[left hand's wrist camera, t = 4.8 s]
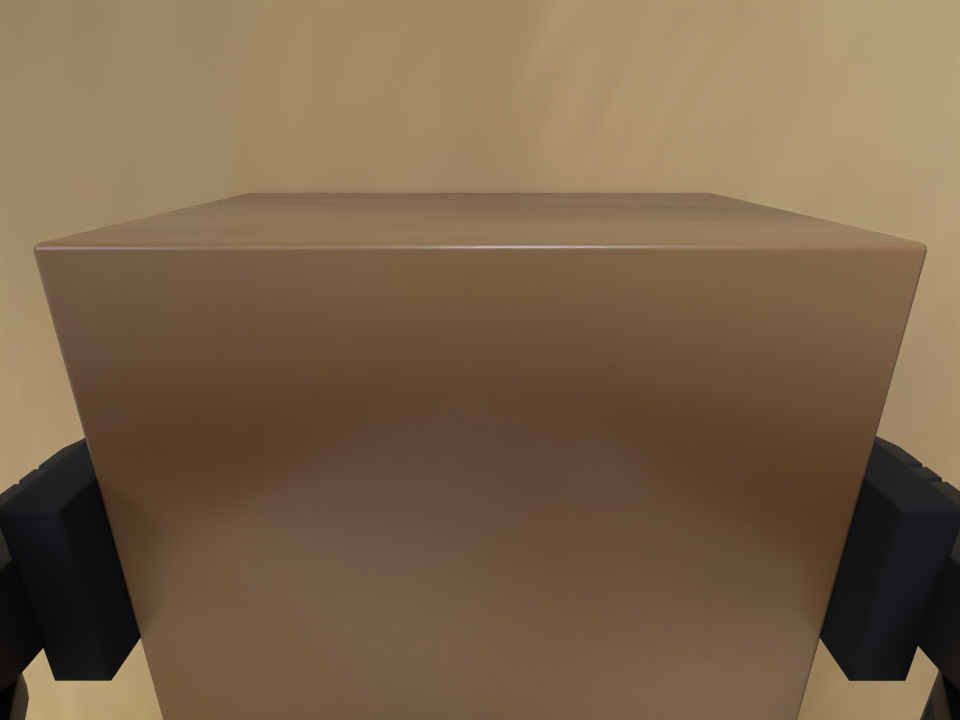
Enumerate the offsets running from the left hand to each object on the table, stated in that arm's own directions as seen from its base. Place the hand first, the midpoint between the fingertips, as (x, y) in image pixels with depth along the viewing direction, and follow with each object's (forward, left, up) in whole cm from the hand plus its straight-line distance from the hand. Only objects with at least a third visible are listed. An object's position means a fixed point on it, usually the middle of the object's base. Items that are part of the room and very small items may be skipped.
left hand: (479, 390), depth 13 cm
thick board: (+21, +4, 0) cm, 21 cm away
